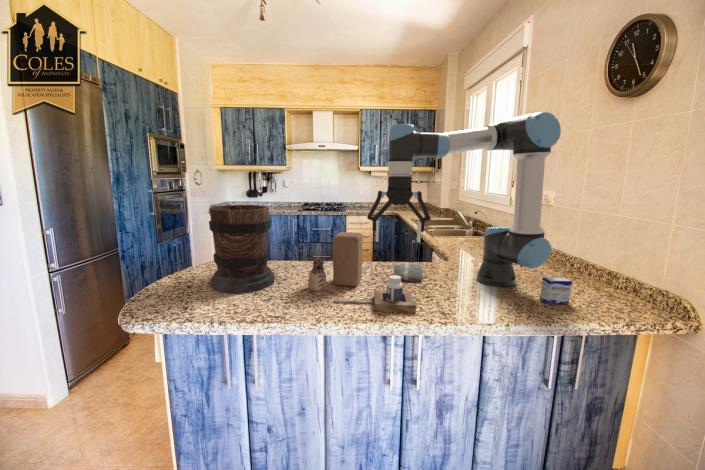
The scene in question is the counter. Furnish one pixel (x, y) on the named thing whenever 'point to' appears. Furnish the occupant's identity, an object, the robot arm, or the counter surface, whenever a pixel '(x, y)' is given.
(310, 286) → the figurine
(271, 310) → the counter surface
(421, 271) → the decorative stone
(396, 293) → the pill bottle
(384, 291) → the brown square frame
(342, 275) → the wooden block
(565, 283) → the box
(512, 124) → the robot arm
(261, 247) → the wooden barrel
